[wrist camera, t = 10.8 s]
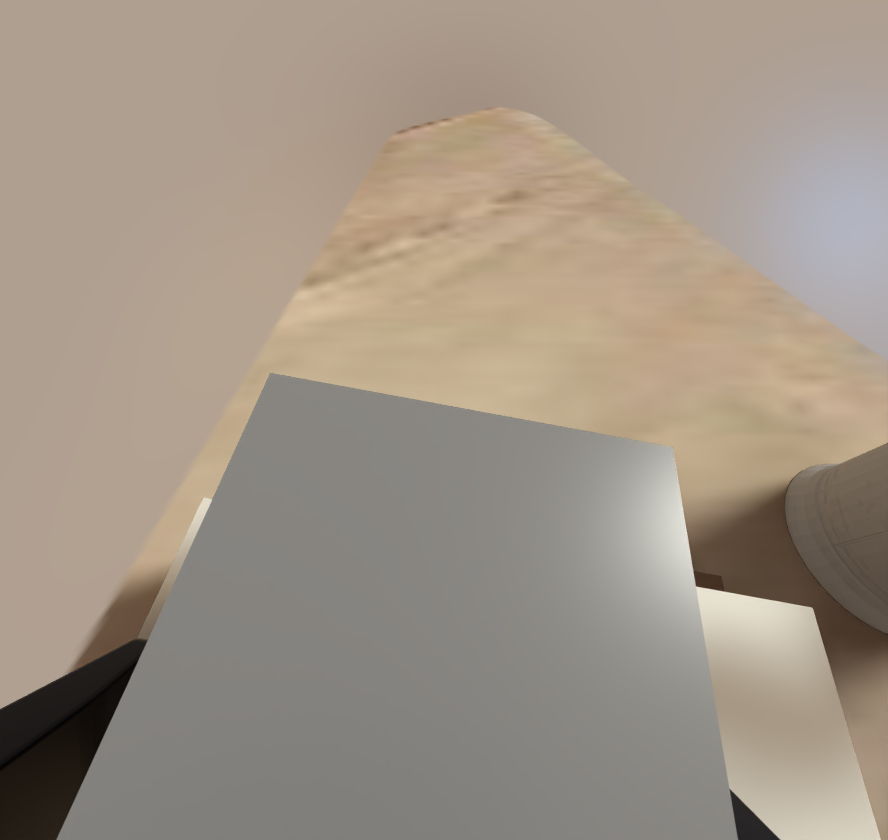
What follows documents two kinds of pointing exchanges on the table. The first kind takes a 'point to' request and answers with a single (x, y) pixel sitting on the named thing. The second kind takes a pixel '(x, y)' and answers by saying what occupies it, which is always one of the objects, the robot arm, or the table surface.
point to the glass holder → (845, 531)
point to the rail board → (753, 710)
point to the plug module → (421, 641)
